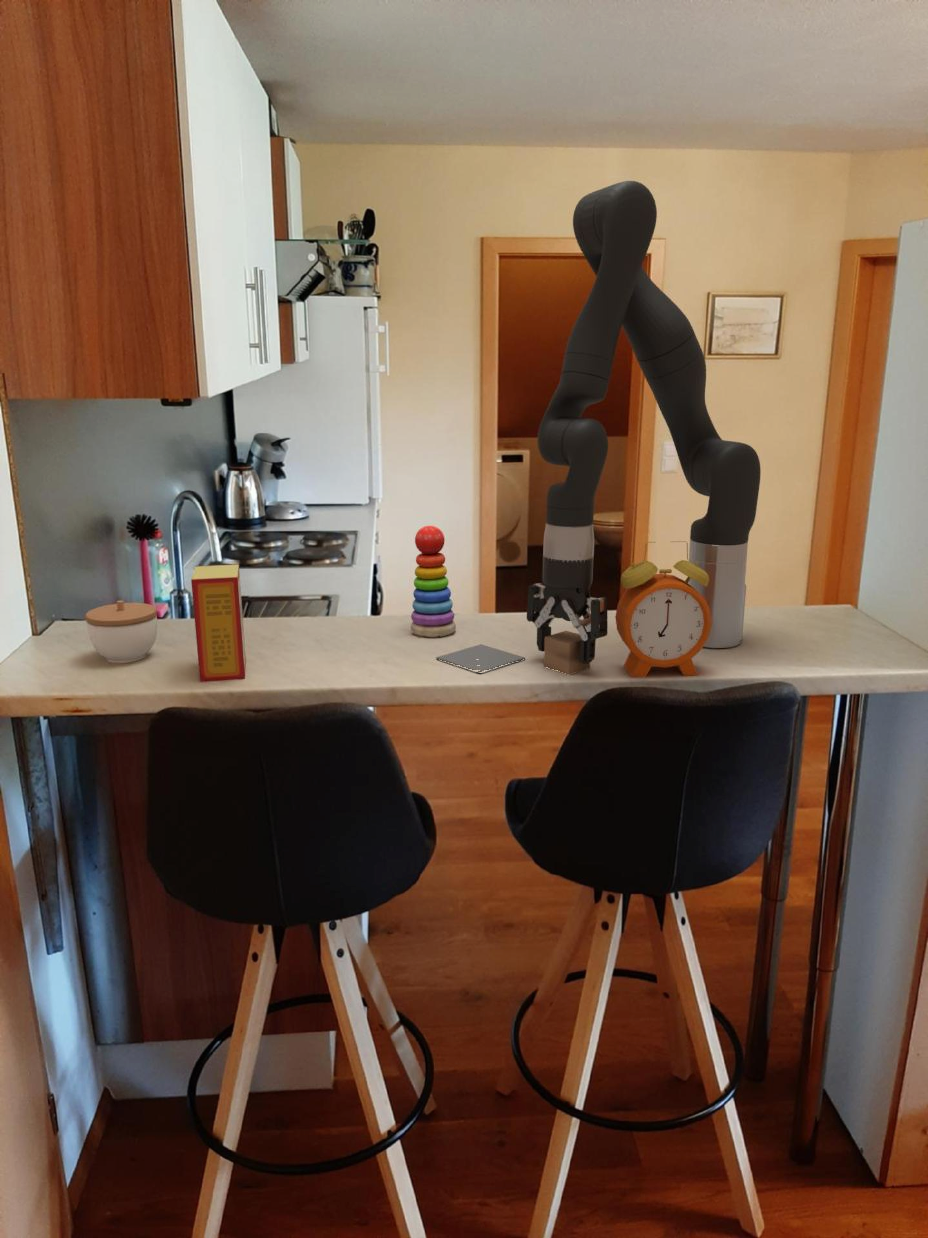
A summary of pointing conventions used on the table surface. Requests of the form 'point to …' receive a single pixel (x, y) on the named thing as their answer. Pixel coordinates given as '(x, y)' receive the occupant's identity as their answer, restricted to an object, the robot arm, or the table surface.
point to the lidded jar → (122, 630)
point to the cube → (563, 652)
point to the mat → (480, 657)
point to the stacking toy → (431, 587)
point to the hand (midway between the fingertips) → (564, 656)
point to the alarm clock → (662, 617)
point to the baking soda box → (219, 622)
